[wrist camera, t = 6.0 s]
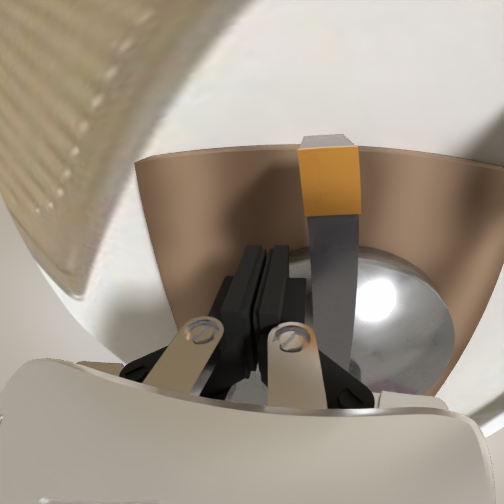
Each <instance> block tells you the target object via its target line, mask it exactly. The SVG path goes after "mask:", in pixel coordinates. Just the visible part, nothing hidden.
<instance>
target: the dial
mask: <svg viewBox="0 0 504 504" xmlns="http://www.w3.org/2000/svg"><path fill="white" fill-rule="evenodd" d="M297 152H298V160H299V168H300V177H301V186H302V195H303V204H304V215H305V217H307V224H308V236H309V247H304V248H300V249H295V250H291V251H289V278H306V303H305V323H304V324H305V325H306V326H308V327H310V328H311V329H312V330H313V332H314V334H315V336H316V342H317V347H318V349H319V350H320V351H321V352H322V353H324V354H325V355H326V356H328V357H329V358H330V359H331V360H333V361H334V362H335V363H337V364H338V365H339V366H340V367H342V368H343V369H344V370H346V371H347V372H348V373H350V374H351V375H352V376H354V377H355V378H356V379H357V380H359V381H360V382H361V383H363V384H364V385H365V386H367V387H368V388H369V389H370V390H371V391H372V392H373V393H381V392H382V391H387V392H395V393H403V394H411V395H421V396H422V395H424V394H425V393H426V392H427V391H428V390H429V389H430V388H431V387H432V386H433V385H434V384H435V383H436V382H437V381H438V379H439V378H440V377H441V375H442V374H443V372H444V371H445V369H446V367H447V366H448V363H449V361H450V359H451V356H452V353H453V348H454V341H455V331H454V326H453V321H452V318H451V316H450V313H449V311H448V309H447V307H446V304H445V302H444V300H443V298H442V296H441V294H440V292H439V290H438V288H437V287H436V286H435V284H434V283H433V281H432V280H431V279H430V278H429V277H428V276H427V275H426V274H425V273H424V272H423V271H422V270H421V269H420V268H418V267H417V266H415V265H414V264H412V263H410V262H409V261H407V260H406V259H403V258H401V257H399V256H397V255H394V254H392V253H390V252H386V251H383V250H379V249H376V248H372V247H365V246H359V214H361V186H360V165H359V150H358V146H355V145H354V144H353V143H352V142H351V141H350V140H349V139H348V138H347V137H345V136H344V135H343V134H335V135H318V136H304V138H303V140H302V143H301V146H300V148H299V149H297ZM232 399H233V400H234V401H236V402H238V403H246V404H255V405H264V406H268V388H267V386H266V385H265V384H264V383H263V382H262V381H261V375H260V372H259V365H257V369H256V371H251V374H250V378H249V379H245V378H244V379H243V380H241V381H239V382H238V383H236V390H235V392H234V394H233V396H232Z"/></svg>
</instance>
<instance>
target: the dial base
mask: <svg viewBox="0 0 504 504" xmlns="http://www.w3.org/2000/svg"><path fill="white" fill-rule="evenodd" d="M300 146H301V144H288V145H256V146H238V147H224V148H212V149H202V150H192V151H184V152H176V153H168V154H161V155H154V156H150V157H147V158H145V159H142V160H140V161H137V162H135V163H134V164H135V170H136V175H137V180H138V185H139V190H140V195H141V200H142V204H143V209H144V213H145V217H146V222H147V226H148V230H149V234H150V238H151V242H152V246H153V249H154V253H155V257H156V260H157V264H158V268H159V271H160V275H161V278H162V281H163V285H164V288H165V291H166V295H167V298H168V301H169V304H170V307H171V310H172V313H173V316H174V319H175V322H176V325H177V328H178V331H180V329H181V328H182V327H183V326H184V325H185V324H186V323H187V322H188V321H190V320H191V319H194V318H197V317H202V316H208V314H209V312H210V309H211V307H212V305H213V303H214V300H215V298H216V296H217V294H218V291H219V289H220V287H221V285H222V282H223V280H224V278H225V276H227V275H229V276H234V275H235V273H236V271H237V268H238V266H239V263H240V261H241V258H242V256H243V253H244V251H245V248H246V246H247V245H261V247H262V249H266V251H267V256H268V252H269V249H274V246H275V245H288V246H289V251H291V250H295V249H300V248H304V247H309V236H308V224H307V217H305V215H304V204H303V195H302V186H301V177H300V168H299V160H298V152H297V149H299V148H300ZM358 150H359V165H360V186H361V214H359V246H365V247H372V248H376V249H379V250H383V251H386V252H390V253H392V254H394V255H397V256H399V257H401V258H403V259H406V260H407V261H409V262H410V263H412V264H414V265H415V266H417V267H418V268H420V269H421V270H422V271H423V272H424V273H425V274H426V275H427V276H428V277H429V278H430V279H431V280H432V281H433V283H434V284H435V286H436V287H437V288H438V290H439V292H440V294H441V296H442V298H443V300H444V302H445V304H446V307H447V309H448V311H449V313H450V316H451V318H452V321H453V326H454V331H455V341H454V348H453V353H452V356H451V359H450V361H449V363H448V366H447V367H446V369H445V371H444V372H443V374H442V375H441V377H440V378H439V379H438V381H437V382H436V383H435V384H434V385H433V386H432V387H431V388H430V389H429V390H428V391H427V392H426V393H425V394H424V395H422V396H432V397H434V396H435V395H436V394H437V392H438V391H439V389H440V388H441V386H442V385H443V383H444V382H445V380H446V379H447V377H448V376H449V374H450V373H451V371H452V370H453V368H454V367H455V365H456V363H457V362H458V360H459V358H460V357H461V355H462V353H463V351H464V350H465V348H466V346H467V344H468V343H469V341H470V339H471V337H472V335H473V333H474V331H475V329H476V327H477V325H478V323H479V321H480V319H481V317H482V315H483V313H484V311H485V309H486V306H487V304H488V302H489V300H490V297H491V295H492V292H493V290H494V288H495V285H496V282H497V280H498V277H499V274H500V272H501V269H502V266H503V263H504V167H501V166H497V165H493V164H488V163H484V162H479V161H474V160H469V159H464V158H458V157H453V156H447V155H441V154H434V153H427V152H419V151H411V150H402V149H392V148H381V147H367V146H358ZM231 402H236V401H234V400H233V399H232V398H231Z"/></svg>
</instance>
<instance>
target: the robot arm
mask: <svg viewBox="0 0 504 504" xmlns="http://www.w3.org/2000/svg"><path fill="white" fill-rule="evenodd" d="M305 303H306V278H289V246H288V245H275V246H274V249H269V252H268V256H267V251H266V249H262V247H261V245H247V246H246V248H245V251H244V253H243V256H242V258H241V261H240V263H239V266H238V268H237V271H236V273H235V275H234V276H229V275H227V276H225V278H224V280H223V282H222V285H221V287H220V289H219V291H218V294H217V296H216V298H215V300H214V303H213V305H212V307H211V309H210V312H209V314H208V316H202V317H197V318H194V319H191V320H190V321H188V322H187V323H186V324H185V325H184V326H183V327H182V328H181V329H180V331H179V332H178V334H177V335H176V336H175V338H174V339H173V340H172V342H171V343H170V345H168V346H166V347H164V348H162V349H160V350H157V351H155V352H153V353H151V354H148V355H146V356H144V357H142V358H139V359H137V360H135V361H132V362H131V363H129V364H127V365H126V366H125V367H124V366H123V364H120V363H100V362H87V361H82V362H78V363H73V362H69V361H64V360H60V359H48V358H46V359H35V360H31V361H28V362H26V363H24V364H23V365H22V366H21V367H20V368H19V369H18V370H17V371H16V372H15V373H14V374H13V376H12V377H11V378H10V380H9V381H8V382H7V384H6V385H5V387H4V388H3V389H2V391H1V393H0V504H496V499H495V498H496V497H495V483H494V475H493V467H492V462H491V457H490V453H489V449H488V446H487V443H486V440H485V437H484V435H483V432H482V431H481V429H480V427H479V426H478V425H477V424H476V422H475V421H473V420H472V419H471V418H469V417H467V416H465V415H462V414H459V413H457V412H453V411H449V410H448V407H447V405H446V404H445V402H444V401H442V400H441V399H440V398H437V397H432V396H421V395H411V394H403V393H395V392H387V391H382V392H381V393H373V392H372V391H371V390H370V389H369V388H368V387H367V386H365V385H364V384H363V383H361V382H360V381H359V380H357V379H356V378H355V377H354V376H352V375H351V374H350V373H348V372H347V371H346V370H344V369H343V368H342V367H340V366H339V365H338V364H337V363H335V362H334V361H333V360H331V359H330V358H329V357H328V356H326V355H325V354H324V353H322V352H321V351H320V350H319V349H318V347H317V342H316V336H315V334H314V332H313V330H312V329H311V328H310V327H308V326H306V325H305V324H304V323H305ZM257 365H259V372H260V375H261V381H262V382H263V383H264V384H265V385H266V386H267V388H268V406H264V405H255V404H246V403H238V402H231V398H232V396H233V394H234V392H235V390H236V383H238V382H239V381H241V380H243V379H244V378H245V379H249V378H250V374H251V371H256V369H257Z"/></svg>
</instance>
